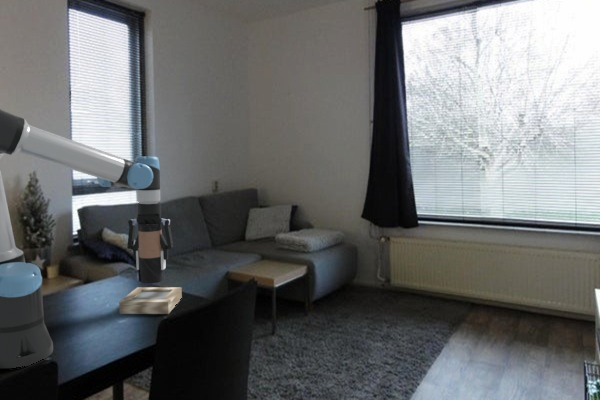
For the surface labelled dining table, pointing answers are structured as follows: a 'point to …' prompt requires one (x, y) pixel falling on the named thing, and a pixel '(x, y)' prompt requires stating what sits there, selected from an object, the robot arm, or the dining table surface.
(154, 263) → the travel mug
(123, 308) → the display stand
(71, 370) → the dining table surface
